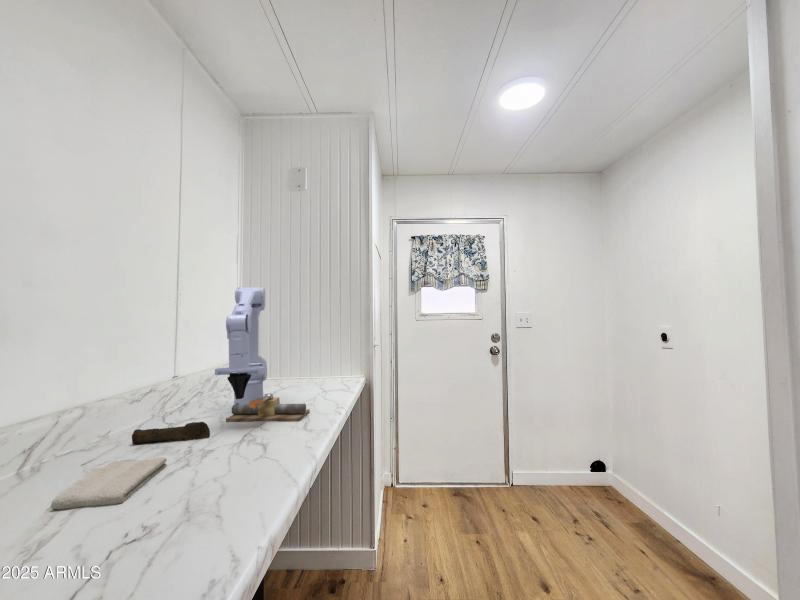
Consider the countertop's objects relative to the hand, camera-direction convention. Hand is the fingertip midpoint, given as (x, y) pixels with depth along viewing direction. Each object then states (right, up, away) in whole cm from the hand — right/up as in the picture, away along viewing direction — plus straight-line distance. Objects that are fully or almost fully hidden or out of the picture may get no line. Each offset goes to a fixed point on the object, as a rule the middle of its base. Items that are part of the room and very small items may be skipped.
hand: (239, 398), depth 111 cm
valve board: (+6, -9, +9) cm, 14 cm away
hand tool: (-14, -9, -10) cm, 19 cm away
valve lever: (+5, -2, +5) cm, 7 cm away
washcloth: (-9, -9, -37) cm, 39 cm away
